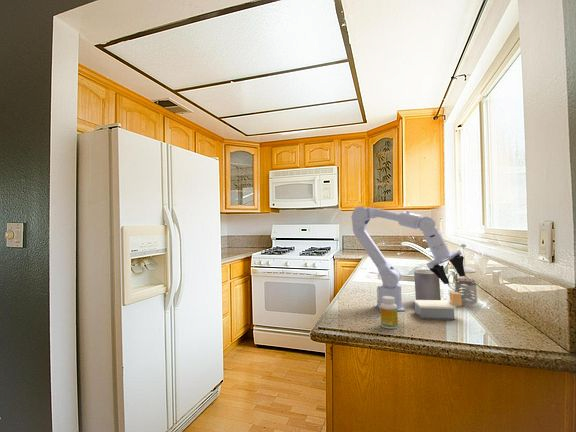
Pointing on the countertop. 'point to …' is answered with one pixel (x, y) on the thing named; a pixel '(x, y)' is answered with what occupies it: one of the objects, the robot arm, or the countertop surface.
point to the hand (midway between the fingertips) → (454, 279)
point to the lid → (442, 302)
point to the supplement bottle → (389, 313)
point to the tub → (434, 313)
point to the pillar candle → (426, 285)
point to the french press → (466, 287)
